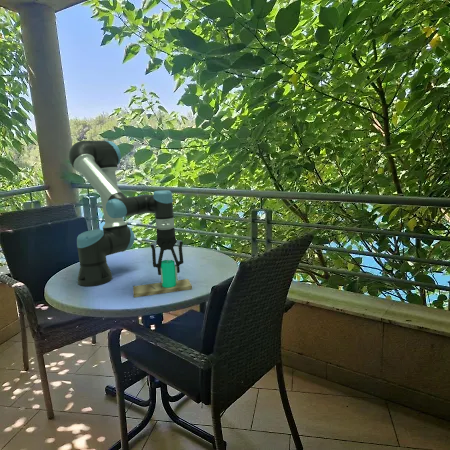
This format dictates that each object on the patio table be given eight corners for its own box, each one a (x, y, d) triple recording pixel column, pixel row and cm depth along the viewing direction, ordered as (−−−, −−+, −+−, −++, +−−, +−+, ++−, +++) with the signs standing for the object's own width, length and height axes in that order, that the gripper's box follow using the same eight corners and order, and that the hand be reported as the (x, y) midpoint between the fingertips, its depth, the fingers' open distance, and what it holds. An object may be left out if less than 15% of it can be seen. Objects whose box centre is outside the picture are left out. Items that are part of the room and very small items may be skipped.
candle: (174, 287, 141) (172, 260, 139) (160, 287, 142) (158, 260, 139) (177, 282, 147) (175, 255, 145) (164, 282, 147) (161, 256, 145)
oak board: (133, 297, 137) (133, 294, 136) (133, 289, 145) (133, 286, 145) (192, 289, 143) (191, 285, 143) (188, 282, 151) (188, 278, 151)
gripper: (143, 231, 134) (148, 286, 138) (188, 227, 138) (192, 280, 143) (142, 228, 141) (147, 280, 145) (185, 224, 145) (189, 275, 150)
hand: (169, 280), depth 144 cm, fingers closed on candle, 5 cm apart
